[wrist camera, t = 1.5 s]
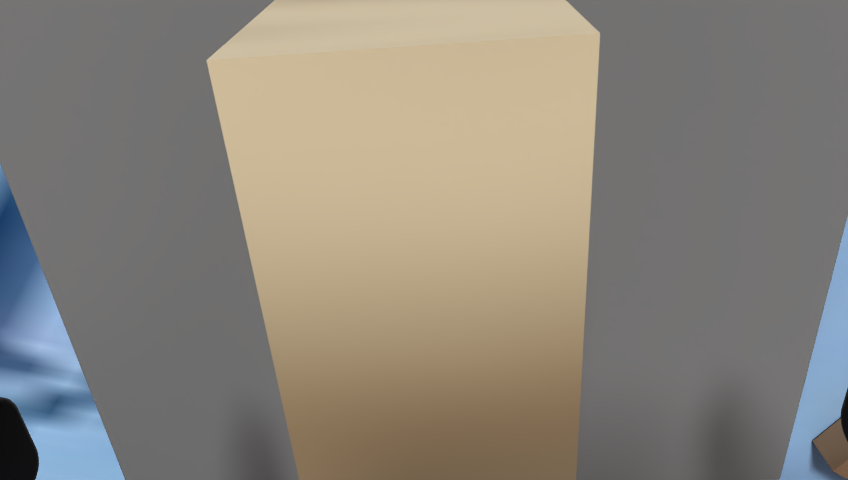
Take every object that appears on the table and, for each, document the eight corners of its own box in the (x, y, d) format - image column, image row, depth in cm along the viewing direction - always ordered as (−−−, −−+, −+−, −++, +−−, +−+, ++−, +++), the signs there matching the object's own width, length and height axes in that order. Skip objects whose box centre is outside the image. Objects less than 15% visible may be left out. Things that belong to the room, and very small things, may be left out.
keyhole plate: (733, 399, 17) (779, 479, 15) (173, 427, 17) (137, 508, 15) (875, -325, 10) (1000, -378, 8) (-48, -245, 11) (-172, -274, 8)
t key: (508, 310, 16) (584, 719, 8) (377, 317, 16) (333, 728, 8) (504, -74, 12) (641, 30, 4) (331, -61, 12) (169, 62, 4)
